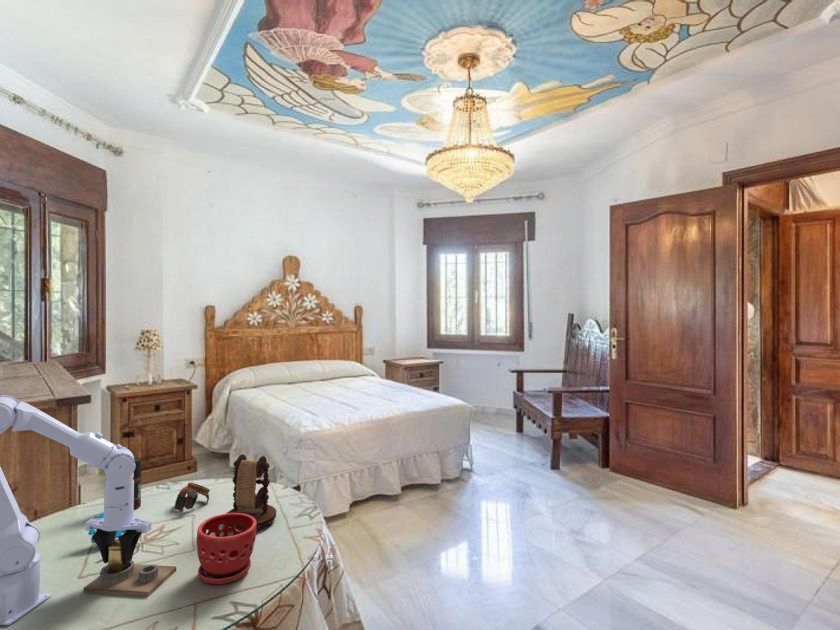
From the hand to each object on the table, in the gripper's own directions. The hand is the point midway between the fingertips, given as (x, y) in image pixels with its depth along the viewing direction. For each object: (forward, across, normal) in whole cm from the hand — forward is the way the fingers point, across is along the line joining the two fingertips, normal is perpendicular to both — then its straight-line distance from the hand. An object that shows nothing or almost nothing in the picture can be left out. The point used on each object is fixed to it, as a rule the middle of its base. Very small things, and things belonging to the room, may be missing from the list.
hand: (117, 561), depth 104 cm
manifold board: (+4, -4, 0) cm, 6 cm away
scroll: (+5, -18, -31) cm, 36 cm away
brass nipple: (+2, 0, 0) cm, 2 cm away
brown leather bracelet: (+5, +6, -40) cm, 40 cm away
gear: (+5, +14, -16) cm, 22 cm away
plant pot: (+5, -24, -5) cm, 24 cm away
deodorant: (+4, +24, -37) cm, 45 cm away
